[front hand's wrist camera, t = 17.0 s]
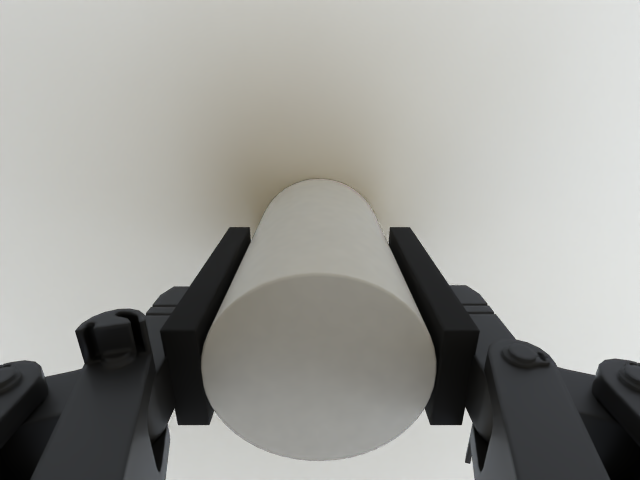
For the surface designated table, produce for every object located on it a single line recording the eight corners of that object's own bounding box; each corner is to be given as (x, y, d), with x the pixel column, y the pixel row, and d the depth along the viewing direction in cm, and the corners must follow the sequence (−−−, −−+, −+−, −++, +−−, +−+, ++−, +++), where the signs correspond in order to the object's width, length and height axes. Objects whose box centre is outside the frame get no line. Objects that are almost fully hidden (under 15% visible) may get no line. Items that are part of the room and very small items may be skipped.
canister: (369, 292, 18) (413, 468, 9) (258, 284, 17) (203, 455, 9) (386, 183, 16) (461, 284, 7) (261, 173, 15) (195, 263, 7)
